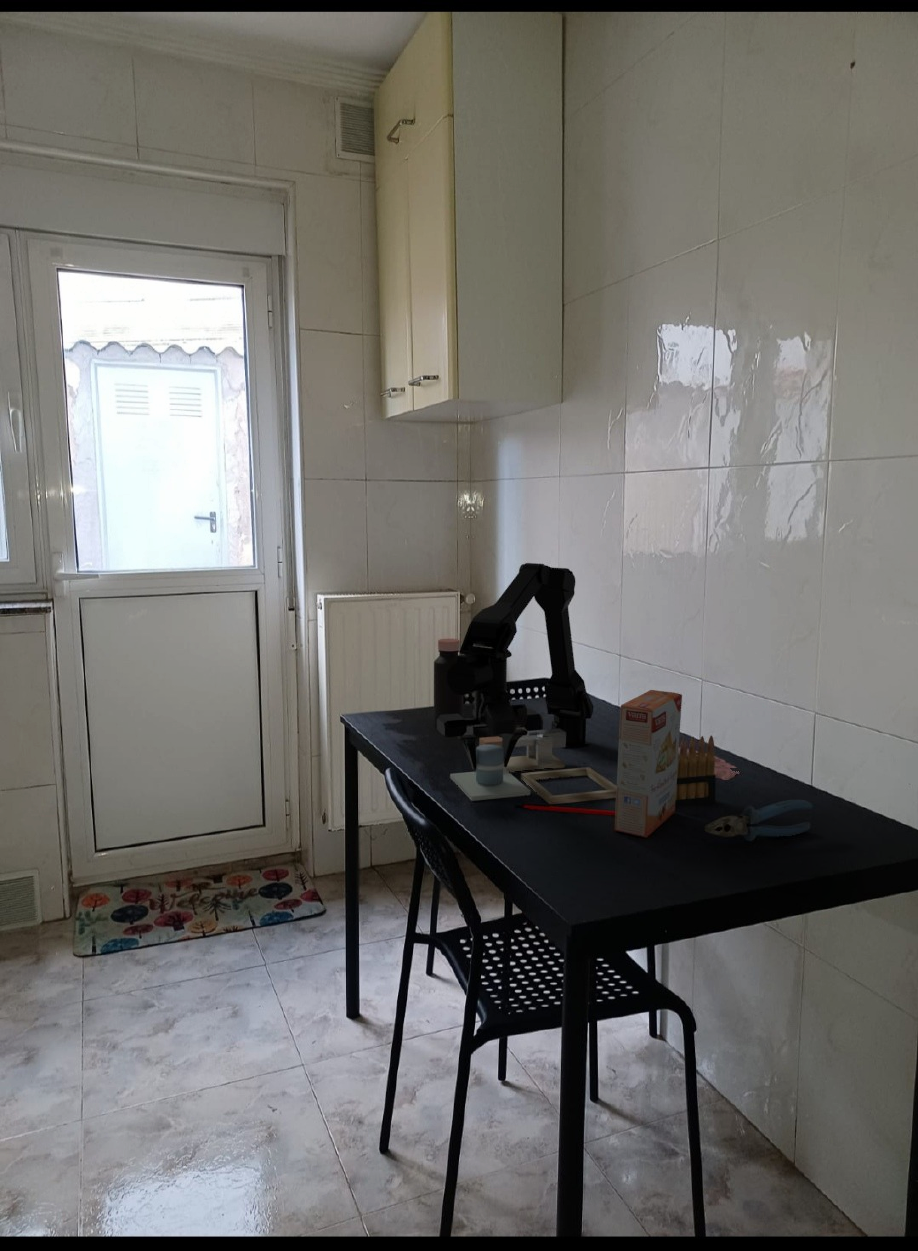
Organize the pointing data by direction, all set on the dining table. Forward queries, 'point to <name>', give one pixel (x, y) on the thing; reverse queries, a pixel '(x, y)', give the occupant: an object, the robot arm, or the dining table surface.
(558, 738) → the cutter handle
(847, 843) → the dining table surface
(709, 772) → the ammunition clip
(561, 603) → the robot arm
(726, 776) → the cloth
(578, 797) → the open square beige frame
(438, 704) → the bottle
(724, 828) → the pliers
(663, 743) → the cracker box
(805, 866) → the dining table surface
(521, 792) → the pad
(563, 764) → the base
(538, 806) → the pen
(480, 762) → the grey round canister
